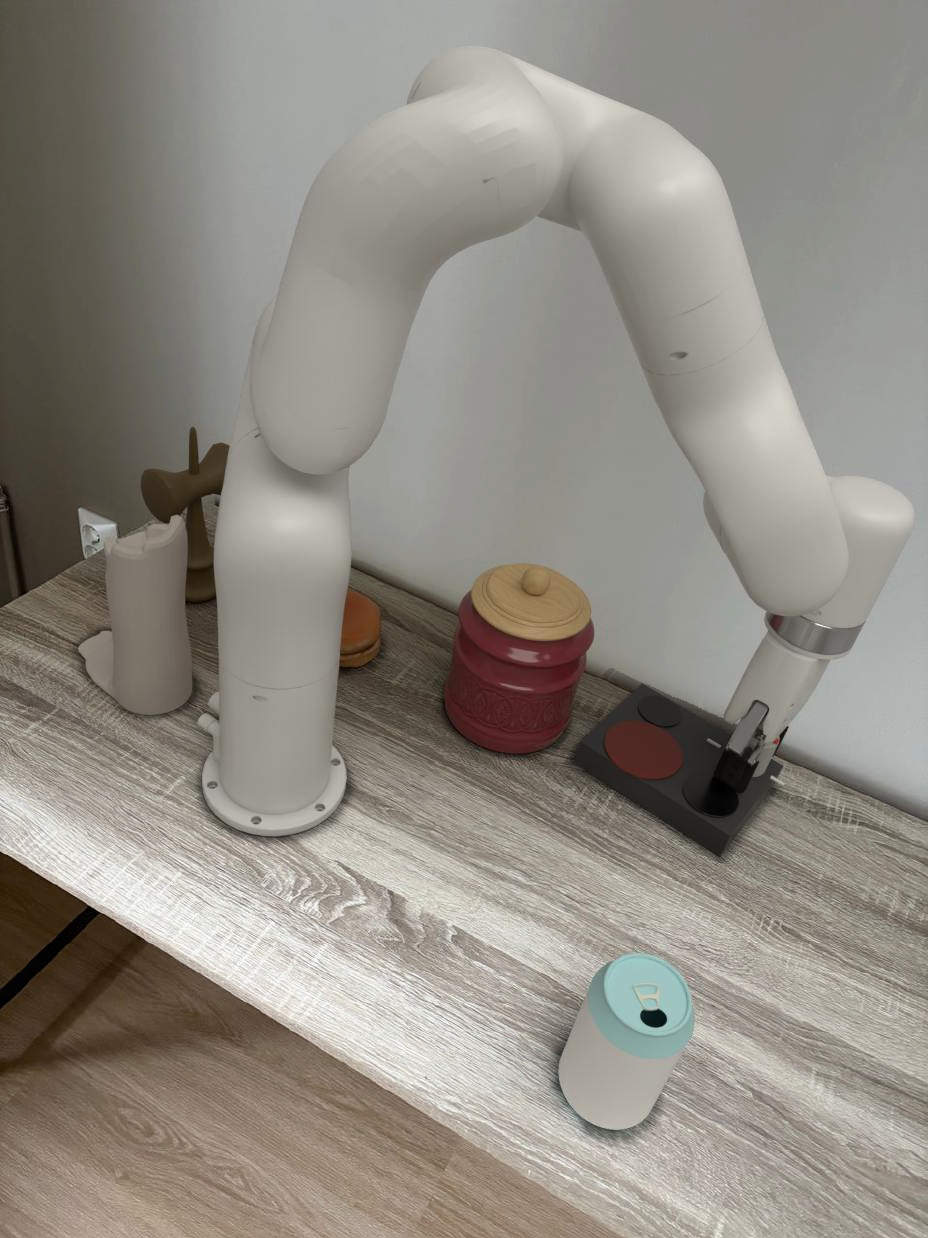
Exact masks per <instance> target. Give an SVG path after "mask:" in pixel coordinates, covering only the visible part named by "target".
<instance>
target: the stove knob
mask: <svg viewBox="0 0 928 1238" xmlns="http://www.w3.org/2000/svg"><path fill="white" fill-rule="evenodd" d="M737 726H738V724H737V725H736V727H737ZM759 729H760V730H762V731H763V726H762V725H760V727H759ZM758 741H759V740H758V739H756V738H754V737H753V738H752V739H751V741H750V743H749V747H750V748H752V750H754V748H755V746H756V744H757V743H758ZM779 741H780V737H779V736H778V737H777V738H776V740H775V741H774V742H772V743H769V744H765V746H764V748H763V750H762V751H761V753H760V755H759V757H758V758H757V761H759V764H758V766H757V768H756V770H755V773H754V775H753V777H758V776H761V775H762V774H763V773H764V772H765V770H766V768H767V766H768V764H769V762H770V760H771V759H773V757H774V756H773V754H774V752H775V750H776V748H777V746H778V744H779ZM772 756H773V757H772Z"/></svg>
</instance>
